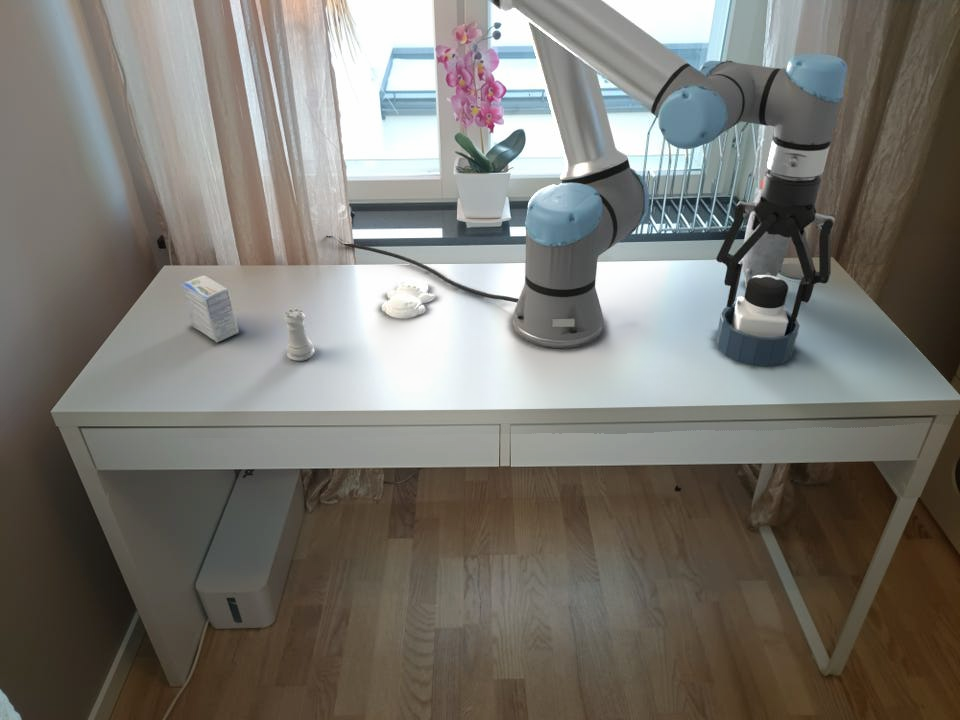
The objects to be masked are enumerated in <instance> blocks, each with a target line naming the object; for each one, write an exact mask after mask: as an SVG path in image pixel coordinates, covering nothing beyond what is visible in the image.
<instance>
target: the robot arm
mask: <svg viewBox="0 0 960 720" xmlns="http://www.w3.org/2000/svg"><path fill="white" fill-rule="evenodd" d="M488 1H489V2H490V3H491V4H492V5H494V6H495V7H497V9H499V10H500V11H502V12H503V13H505V14H507V15H513V14H516V13H518V14H519V15H520V16H522V17H523V18H524V19H525V21H526V24H527V28H528V31H529V36H530V39H531V43H532V47H533V50H534V53H535V56H536V60H537V64H538V68H539V72H540V75H541V79H542V82H543V86H544V90H545V93H546V97H547V100H548V104H549V108H550V110H551V115H552V119H553V122H554V126H555V129H556V133H557V137H558V140H559V145H560V147H561V151H562V152H561V153H562V155H563V158H564V162H565V166H564V168H563V171H562V173H561V175H560V176H559V177H560V183H559V184H558V185H556V184H551V185H547V186H545V187H543V188H541V189H539V190H538V191H537V192H535V193H534V194H533V195H532V197H531V198H530V200H529V201H528V204H527V213H526V216H525V221H524V222H525V224H524V226H525V261H524V263H525V264H524V275H525V276H524V283H523V287H522V290H521V292H520V295H519V298H517V297H513V296H507V295H506V296H505V295H500V294H493V293H488V292H484V291H481V290H477V289H475V288H471V287H469V286H466V285H463V284H461V283H459V282H457V281H454V280H452V279H450V278H448V277H447V276H445V275H443V274H442V273H440V272H439V271H437V270H436V269H433V268H432V267H430V266H428V265H426V264H424V263H422V262H419V261H417V260H415V259H412V258H409V257H407V256H404V255H401V254H398V253H395V252H391V251H387V250H382V249H379V248H375V247H370V246H367V245H361V244H358V243H357V244H356V243H351V242H350V243H351V244H344V246H346V247H350V248H352V249H353V248H354V249H358V250H364V251H367V252H368V251H369V252H372V253H377V254H381V255H385V256H389V257H392V258H395V259H398V260H401V261H404V262H407V263H410V264H411V265H415V266H417V267H419V268H422V269H423V270H425V271H427V272H429V273H431V274H433V275H435V276H436V277H438V278H439V279H441V280H443V281H444V282H445V283H447V284H449V285H451V286H453V287H456V288H458V289H460V290H463V291H465V292H468V293H471V294H474V295H476V296H481V297H485V298H488V299H491V300H500V301H505V302H506V301H507V302H510V303H511V302H512V303H516V305H515V307H514V311H513V315H512V316H513V317H512V318H513V319H512V320H513V321H512V322H513V323H512V326H513V329H514V331H515V332H516V334H517V335H518V336H519V337H521V339H523V340H525V341H527V342H529V343H531V344H534V345H536V346H540V347H545V348H550V349H551V348H552V349H569V348H576V347H581V346H584V345H587V344H589V343H592V342H593V341H595V340H596V339H598V338H599V336H600V335H601V333H602V332H603V331H602V330H603V327H604V326H603V325H604V315H603V311H602V307H601V303H600V300H599V296H598V292H597V288H596V280H597V269H598V258H599V257H600V256H601V255H603V254H604V253H605V252H607V251H608V250H609V249H611V248H612V247H613V246H615V245H617V244H618V243H620V242H621V241H622V240H624V239H626V238H629V237H630V236H631V235H632V234H633V233H634V232H636V230H637V229H638V228H639V227H640V226H641V224H642V223H643V222H644V220H645V219H646V217H647V215H648V212H649V208H650V191H649V187H648V185H647V182H646V181H645V179H644V177H643V176H642V175H641V174H638V173H637V172H636V170H635V169H633V168H631V166H630V165H631V164H630V161H629V157H628V155H627V154H624V153H623V152H621V151H620V150H618V148H617V147H616V144H615V140H614V136H613V132H612V127H611V125H610V121H609V117H608V113H607V109H606V104H605V101H604V100H605V99H604V96H603V94H602V93H603V92H602V89H601V85H600V81H599V77H598V74H599V75H600V76H602V77H603V78H604V79H606V80H607V81H608V82H609V83H611V84H612V85H614V86H615V88H618V89H619V90H620V91H621V92H623V93H624V94H626V95H627V96H628V97H630V98H631V99H632V100H634V101H636V103H637V104H639V105H640V106H642V107H643V108H644V109H645V110H647V111H648V112H650V113H651V114H652V115H654V116H655V117H656V118H657V121H658V129H659V130H660V132H661V135H662V137H663V139H664V140H665V141H666V142H667V143H668V144H669V145H671V146H673V147H675V148H678V149H682V150H692V149H696V148H698V147H701V146H703V145H706V144H709V143H712V142H713V141H715V139H717V138H718V137H719V136H721V135H722V134H723V133H724V132H726V131H728V130H729V129H731V128H733V127H734V126H737V125H738V124H739V123H748V124H754V125H761V126H766V127H769V126H770V127H774V128H773V135H772V141H771V145H770V149H769V153H768V158H767V164H766V167H767V169H768V170H767V171H766V172H765V173H764V177H763V179H764V182H763V187H762V191H761V196H760V199H759V200H758V202H757V203H754V202H747V200H745V199H740V200H739V202H738V203H737V204H736V206H734V219H733V221H732V223H731V226H730V228H729V230H728V232H727V234H726V235H725V238H724V241H723V243H722V246H721V247H720V249H719V251H718V254H717V256H716V258H715V259H716V261H717V262H718V263H719V264H721V263H722V264H723V265H724V266H726V270H725V271H726V272H725V276H724V285H725V286H727V287H728V286H729V291H728V292H729V293H728V298H727V302H726V307H730V308H731V307H732V305H733V304H734V303H736V300H737V293H738V289H739V284H740V280H741V279H740V278H741V274H742V271H743V266H742V265H743V264H740V261H741V260H743V257H744V256H745V255H746V254H747V252H748V251H749V250H750V249H751V248H752V247H753V246H754V244H755V243H756V242H757V241H758V240H759V239H760V238H761V237H762V236H763V235H764V233H765V232H768V234H772V235H777V234H779V235H781V236H783V237H788V238H790V236H791V238H790V239H791V242H792V244H793V245H794V249H795V251H796V255H797V257H798V262H799V264H800V267H801V268H800V269H801V271H802V274H803V275H802V276H801V279H800V282H799V283H798V288H797V292H796V296H795V299H794V304H793V307H792V312H791V314H792V315H791V319H790V321H792V322H795V321H796V319H797V318H798V316H799V313H800V309H801V305H802V303H806V304H807V303H809V302H810V300H811V297H812V295H813V291H814V287H815V285H816V284H820V283H821V284H823V285H825V284H827V283H829V280H830V276H831V271H832V270H831V269H832V268H831V265H832V264H831V263H832V261H831V253H832V250H831V246H832V243H831V242H832V238H831V237H832V236H831V235H832V228H833V227H834V223H835V222H836V216H835V214H833V213H830V214H828V215H825V214H821V213H818V212H817V210H816V202H817V198H818V194H819V191H820V186H821V182H822V178H821V175H822V174H823V173H824V170H825V166H826V163H827V158H828V155H829V151H830V148H831V141H832V137H833V134H834V129H835V126H836V123H837V119H838V115H839V111H840V108H841V104H842V101H843V99H844V96H845V95H844V90H845V84H846V80H847V74H848V65H847V62H846V61H845V60H844V59H842V58H841V57H839V56H835V55H831V54H823V53H800V54H795V55H793V56H791V57H790V59H789V60H788V63H787V66H785V67H781V68H780V67H779V68H778V67H770V66H763V65H757V64H750V63H749V64H748V63H742V62H735V61H733V60H723V61H722V60H708V61H705V62H704V63H703V64H701V66H700V68H699V70H698V69H697V68H695V67H694V66H693V65H691V64H690V63H688V62H687V61H686V60H685V59H684V58H682V57H681V56H679V55H678V54H677V53H675V52H674V51H672V50H671V49H670V48H668V47H667V46H665V45H664V44H663V43H661V42H660V41H658V40H657V38H654V37H653V36H652V35H650V34H649V33H647V32H646V31H645V30H643V29H642V28H640V27H639V26H638V25H636V23H635V22H632V21H631V20H630V19H628V18H627V17H626V16H624V15H623V14H622V13H620V12H619V11H617V10H616V9H614V8H613V7H612V6H610V5H609V4H608V3H606V1H603V0H488ZM753 211H755V213H756V215H757V217H758V219H759V221H760V224H759V225H758V227H757V228H756V229H755V230H754V231H753V233H752V234H751V235H750V236H749V237H748V238H747V240H746V241H745V242H744V241H743V243H742V244H741V246H739V247H738V249H737V250H736V251H735V252H734V253H733V254H731V253H730V251H731V249H732V247H733V245H734V242H735V240H736V238H737V237H738V234H739V232H740V230H741V227H742V226H743V223H744V221H745V219H746V218H749V216H750V214H751V212H753ZM812 223H815V225H816V230H817V231H818V232H820V233H819V238H818V247H819V248H818V251H819V253H818V255H819V256H818V257H819V259H818V261H819V262H818V264H819V265H818V268H819V269H818V271H817V270H816V267H815V264H814V261H813V257H812V254H811V250H810V246H809V244H808V243H809V242H808V240H807V233H806V230H805V229H806V228H807V227H808V226H809V225H810V224H812Z"/></svg>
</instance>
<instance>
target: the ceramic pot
mask: <svg viewBox="0 0 960 720" xmlns="http://www.w3.org/2000/svg"><path fill="white" fill-rule="evenodd" d="M735 306H736V302H734V304H733V305H732V307H731V308H730V307H727V306H725V307H724V308H723V310H722V311H721V313H720V316H719V322H718V328H717V332H716V336H715V343H716V346H717V348H718V350H720V351H721V352H722V353H723V355H725V356H726V357H728V358H731V359H732V360H734V361H736V362H739V363H741V364H746V365H750V366H753V367H773V366H778V365H782V364H783V363H785V362H787V361H789V360H790V359H791V358H792V354H793V352H794V349H795V345H796V341H797V338H798V334H799V330H800V323H799V321H798V319H797V318H796V321H795V322H792V321H790V319H791V315H792V312H790V311H788V310H786V309H785V311H786V314H787V318H788V326H787V330H786V334H785V336H780V337H775V338H772V337H758V336H754V335H749V334H745V333H743V332H741V331H739V330H737V329H735V328H733V327H732V326H731V325H732V320H733V315H734V310H735Z"/></svg>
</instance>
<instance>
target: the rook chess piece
mask: <svg viewBox="0 0 960 720" xmlns="http://www.w3.org/2000/svg"><path fill="white" fill-rule="evenodd" d="M305 318H306V314H304V313H303V310H302V309H301V308H300V309H299V308H297V307H295V308H294V310H293V308H289V309H288V310H286V311H285V316H284V317H283V319H284V321H285V322H286V323H287V325H286V328H287V329H288V332H289V335H288V336H289V339H288V341H287V345H286V349H285V350H286V356H287V357H288V358H289V359H290V360H292V361H294V362H304V361H307V360H309V359H311V358H312V357H313V355H314V354H315V348H314V343H313V342H312V341H311V340H310V338H309V337H308V336H307V333H306V330H305V326H306V323H305V322H304V320H305Z"/></svg>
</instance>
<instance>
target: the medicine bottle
mask: <svg viewBox="0 0 960 720" xmlns="http://www.w3.org/2000/svg"><path fill="white" fill-rule="evenodd" d="M788 291H789V285H788V283H787V281H785V280H783V279H782V278H780V277H778V276H777V277H775V276H771V275H757V276H753V277H752V278H750V279H749V280H748V282H747V287H746V286H745V292H744V296H740V295H739V296H736V300H735V303H736V306H735V310H734V315H733V320H732V325H731V326H732V327H733V328H735V329H737V330H739V331H741V332H743V333H745V334H749V335H754V336H758V337H772V338H775V337H780V336H785V334H786V330H787V326H788V318H787V314H786V311H787V310H786V308H785V303H786V299H787V296H788ZM785 310H786V311H785Z"/></svg>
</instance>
